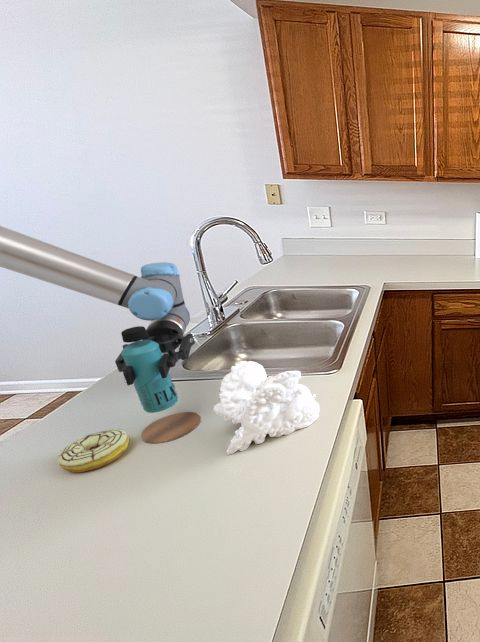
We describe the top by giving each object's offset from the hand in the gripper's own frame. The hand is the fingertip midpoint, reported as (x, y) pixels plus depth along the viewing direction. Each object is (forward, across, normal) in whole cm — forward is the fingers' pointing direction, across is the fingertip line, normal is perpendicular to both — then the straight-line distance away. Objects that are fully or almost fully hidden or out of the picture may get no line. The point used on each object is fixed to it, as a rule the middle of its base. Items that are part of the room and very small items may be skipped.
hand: (145, 375), depth 80 cm
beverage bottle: (-5, 0, -12) cm, 13 cm away
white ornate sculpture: (+6, -20, -17) cm, 26 cm away
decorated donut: (-1, +12, -16) cm, 20 cm away
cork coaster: (-5, 0, -16) cm, 17 cm away
